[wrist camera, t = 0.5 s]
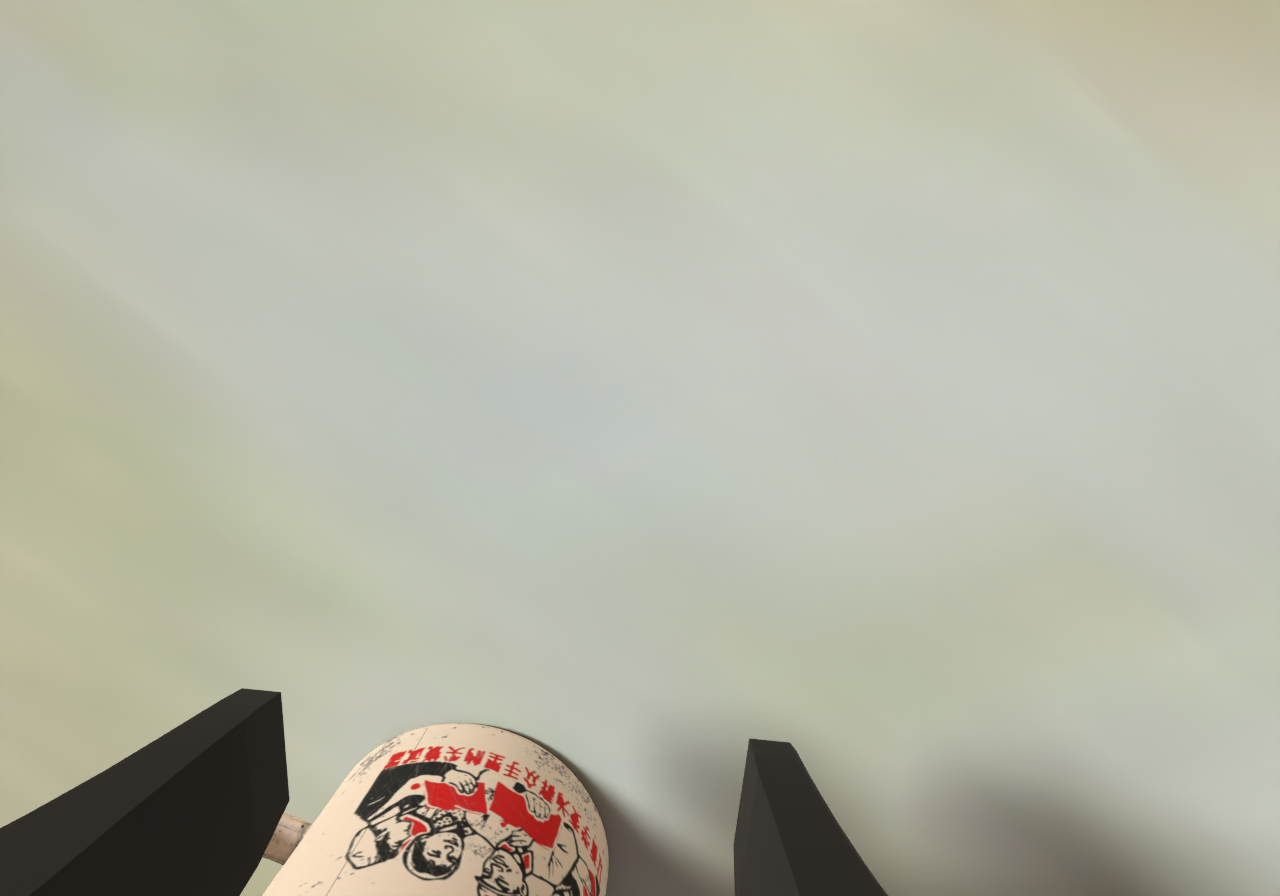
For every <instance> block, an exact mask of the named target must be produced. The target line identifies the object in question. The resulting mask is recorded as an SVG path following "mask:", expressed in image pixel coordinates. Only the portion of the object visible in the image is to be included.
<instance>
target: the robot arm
mask: <svg viewBox="0 0 1280 896" xmlns="http://www.w3.org/2000/svg"><path fill="white" fill-rule="evenodd" d="M288 802H289V790H288V777H287V764H286V752H285V739H284V726H283V713H282V701H281V692H272V691H262V690H252V689H240V690H238V691H237V692H235V693H233V694H231V695H229V696H227V697H226V698H224V699H222V700H221V701H219V702H217V703H216V704H214V705H212V706H211V707H209V708H207V709H206V710H204V711H202V712H201V713H199V714H197V715H196V716H194V717H192V718H191V719H189V720H188V721H186V722H184V723H183V724H181V725H179V726H178V727H176V728H175V729H173V730H171V731H170V732H168V733H166V734H165V735H163V736H162V737H160V738H158V739H157V740H155V741H153V742H152V743H150V744H148V745H147V746H145V747H143V748H142V749H140V750H138V751H137V752H135V753H133V754H132V755H130V756H129V757H127V758H125V759H124V760H122V761H120V762H119V763H117V764H115V765H114V766H112V767H110V768H109V769H107V770H105V771H104V772H102V773H100V774H98V775H96V776H95V777H93V778H91V779H89V780H87V781H86V782H84V783H82V784H80V785H79V786H77V787H75V788H73V789H71V790H70V791H68V792H66V793H64V794H62V795H61V796H59V797H57V798H55V799H54V800H52V801H50V802H48V803H46V804H45V805H43V806H41V807H39V808H38V809H36V810H34V811H32V812H30V813H29V814H27V815H25V816H23V817H21V818H19V819H17V820H15V821H13V822H11V823H10V824H8V825H6V826H4V827H2V828H0V896H239V895H240V894H241V892H242V891H243V889H244V887H245V886H246V884H247V883H248V881H249V879H250V878H251V876H252V874H253V873H254V871H255V870H256V868H257V866H258V865H259V862H260V860H261V858H262V856H263V854H264V852H265V850H266V848H267V846H268V844H269V842H270V840H271V838H272V836H273V834H274V832H275V830H276V828H277V826H278V823H279V821H280V819H281V817H282V815H283V813H284V810H285V808H286V806H287V804H288ZM734 877H735V896H888V895H887V894H886V893H885V891H884V890H883V888H882V887H881V886H880V884H879V883H878V882H877V880H876V879H875V877H874V876H873V875H872V873H871V872H870V870H869V869H868V867H867V866H866V865H865V863H864V862H863V860H862V859H861V857H860V856H859V854H858V853H857V851H856V850H855V848H854V847H853V845H852V844H851V842H850V841H849V839H848V838H847V836H846V834H845V833H844V831H843V830H842V828H841V827H840V825H839V824H838V822H837V821H836V819H835V817H834V816H833V814H832V813H831V811H830V809H829V808H828V806H827V804H826V803H825V801H824V799H823V798H822V796H821V794H820V793H819V791H818V789H817V787H816V786H815V784H814V782H813V780H812V779H811V777H810V775H809V773H808V772H807V770H806V768H805V766H804V764H803V762H802V761H801V759H800V757H799V755H798V753H797V751H796V750H795V748H794V747H793V746H792V745H791V744H790V743H788V742H777V741H767V740H757V739H749V745H748V752H747V759H746V765H745V772H744V779H743V786H742V793H741V799H740V806H739V813H738V820H737V827H736V833H735V840H734Z"/></svg>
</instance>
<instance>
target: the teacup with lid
mask: <svg viewBox="0 0 1280 896" xmlns="http://www.w3.org/2000/svg"><path fill="white" fill-rule="evenodd" d="M262 857H264V858H267V859H270V860H272V861H275V862H277V863H280V864H282V865H284V866H283V867H282V868H281V870H280V871H279V873H278V874H277V875H276V877H275V878H274V880H273V881H272V882H271V884H270V885H269V887H268V888H267V889H266V891H265V892H264V894H263V895H262V896H605V895H606V888H607V880H608V871H609V856H608V845H607V840H606V835H605V830H604V827H603V824H602V821H601V818H600V816H599V813H598V811H597V809H596V806H595V805H594V803H593V801H592V799H591V798H590V796H589V794H588V792H587V791H586V789H585V788H584V787H583V785H582V784H581V782H580V781H579V780H578V779H577V778H576V776H575V775H574V774H573V773H572V772H571V771H570V770H569V769H568V768H567V767H566V766H565V765H564V764H563V763H562V762H561V761H560V760H558V759H557V758H556V757H555V756H553V755H552V754H551V753H550V752H548V751H547V750H545V749H544V748H542V747H541V746H539V745H537V744H535V743H533V742H532V741H530V740H528V739H526V738H524V737H521V736H519V735H517V734H514V733H511V732H508V731H505V730H502V729H499V728H495V727H490V726H486V725H479V724H470V723H445V724H438V725H431V726H426V727H422V728H418V729H415V730H412V731H409V732H406V733H403V734H401V735H399V736H397V737H394V738H392V739H390V740H388V741H387V742H385V743H383V744H382V745H380V746H379V747H377V748H376V749H374V750H373V751H372V752H370V753H369V754H368V755H367V756H366V757H365V758H364V759H362V760H361V761H360V762H359V763H358V764H357V765H356V766H355V767H354V769H353V770H352V771H351V772H350V773H349V774H348V776H347V777H346V779H345V780H344V781H343V783H342V784H341V786H340V787H339V788H338V790H337V791H336V793H335V794H334V795H333V797H332V798H331V800H330V801H329V802H328V804H327V805H326V807H325V808H324V809H323V811H322V812H321V814H320V815H319V816H318V818H317V819H316V821H315V822H314V823H312V824H311V823H308V822H306V821H303V820H301V819H298V818H296V817H293V816H291V815H288V814H285V813H283V815H282V817H281V819H280V821H279V823H278V826H277V828H276V830H275V832H274V834H273V836H272V838H271V840H270V842H269V844H268V846H267V848H266V850H265V852H264V854H263V856H262Z"/></svg>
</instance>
